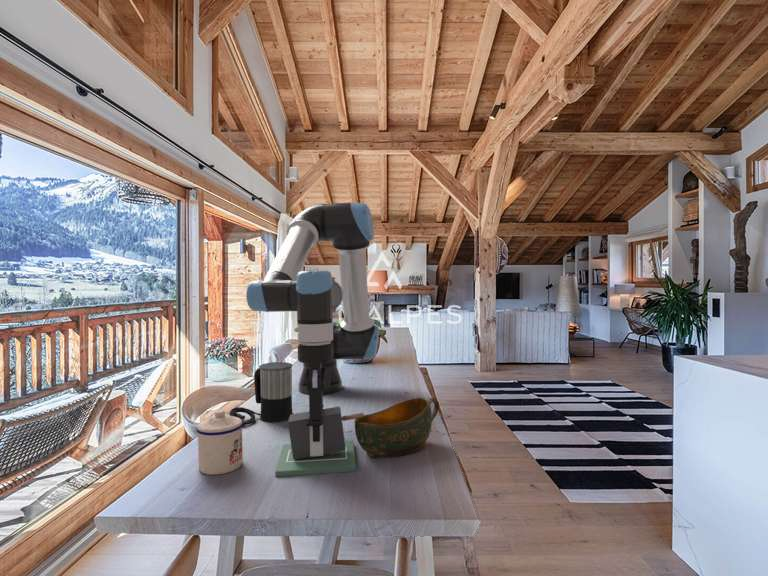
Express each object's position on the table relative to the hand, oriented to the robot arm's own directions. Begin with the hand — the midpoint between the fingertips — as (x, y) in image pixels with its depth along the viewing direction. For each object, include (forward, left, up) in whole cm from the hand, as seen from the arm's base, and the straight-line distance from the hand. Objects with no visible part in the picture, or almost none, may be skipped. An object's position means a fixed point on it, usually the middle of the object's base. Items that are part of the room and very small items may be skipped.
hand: (317, 449), depth 93 cm
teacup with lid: (-1, -20, -2) cm, 20 cm away
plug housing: (0, +3, 0) cm, 3 cm away
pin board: (0, 0, -2) cm, 2 cm away
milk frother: (-29, -16, -2) cm, 33 cm away
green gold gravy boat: (-3, +18, -2) cm, 19 cm away
